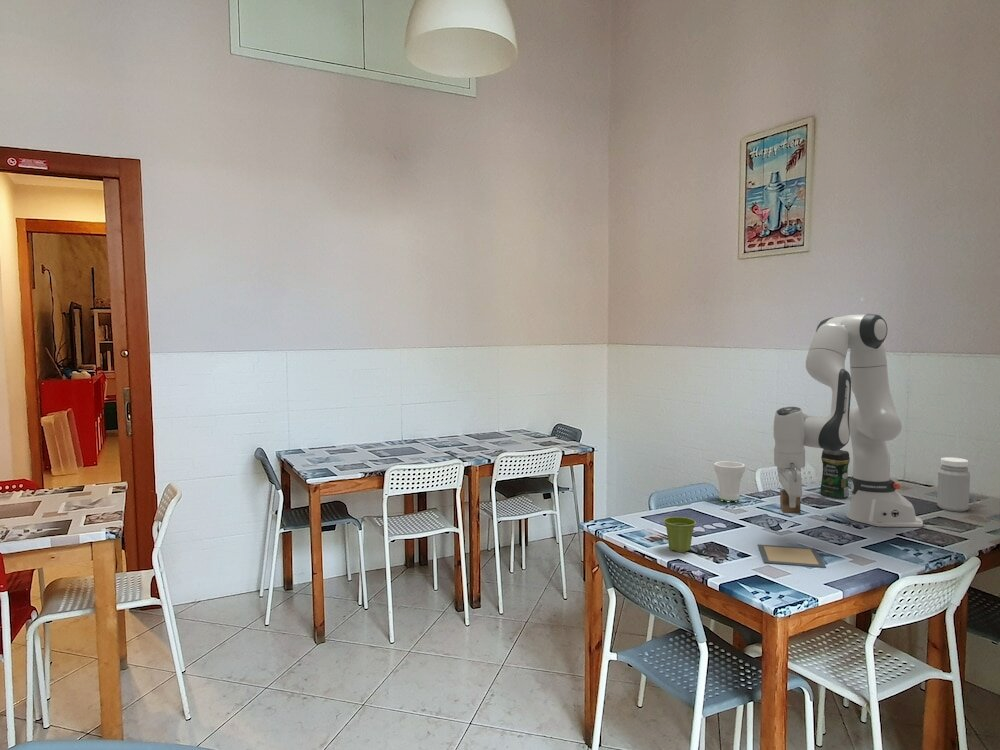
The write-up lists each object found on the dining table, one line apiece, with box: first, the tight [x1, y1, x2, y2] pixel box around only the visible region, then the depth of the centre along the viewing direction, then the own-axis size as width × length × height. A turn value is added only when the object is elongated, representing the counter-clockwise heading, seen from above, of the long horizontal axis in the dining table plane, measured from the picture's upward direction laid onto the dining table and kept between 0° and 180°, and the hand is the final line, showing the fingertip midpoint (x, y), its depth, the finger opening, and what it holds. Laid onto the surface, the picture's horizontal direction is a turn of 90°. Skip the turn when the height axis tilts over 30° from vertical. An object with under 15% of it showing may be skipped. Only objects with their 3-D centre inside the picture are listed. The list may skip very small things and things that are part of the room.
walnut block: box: [779, 489, 801, 514], centre depth 207 cm, size 5×5×6 cm
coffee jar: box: [819, 449, 851, 499], centre depth 260 cm, size 10×8×19 cm
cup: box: [713, 460, 746, 502], centre depth 256 cm, size 11×11×14 cm
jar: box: [936, 456, 971, 513], centre depth 241 cm, size 10×10×18 cm
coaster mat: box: [757, 543, 827, 569], centre depth 194 cm, size 16×16×1 cm
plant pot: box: [663, 516, 697, 553], centre depth 201 cm, size 9×9×9 cm
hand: (790, 504), depth 207 cm, fingers closed on walnut block, 5 cm apart
